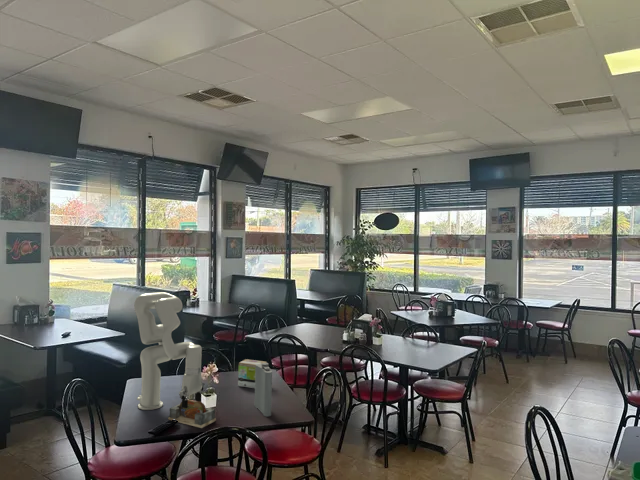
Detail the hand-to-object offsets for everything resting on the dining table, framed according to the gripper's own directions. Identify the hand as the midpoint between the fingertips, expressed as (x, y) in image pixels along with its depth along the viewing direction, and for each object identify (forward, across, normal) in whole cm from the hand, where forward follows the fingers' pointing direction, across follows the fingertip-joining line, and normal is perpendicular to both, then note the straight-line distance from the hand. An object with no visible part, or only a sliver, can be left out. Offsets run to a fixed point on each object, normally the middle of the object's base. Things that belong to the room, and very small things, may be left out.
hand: (191, 404), depth 234 cm
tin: (+7, 0, +1) cm, 7 cm away
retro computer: (+8, -61, -5) cm, 62 cm away
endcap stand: (+8, 0, +1) cm, 8 cm away
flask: (+7, -29, +24) cm, 38 cm away
